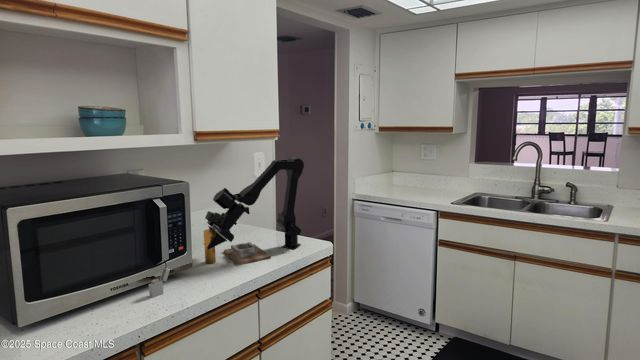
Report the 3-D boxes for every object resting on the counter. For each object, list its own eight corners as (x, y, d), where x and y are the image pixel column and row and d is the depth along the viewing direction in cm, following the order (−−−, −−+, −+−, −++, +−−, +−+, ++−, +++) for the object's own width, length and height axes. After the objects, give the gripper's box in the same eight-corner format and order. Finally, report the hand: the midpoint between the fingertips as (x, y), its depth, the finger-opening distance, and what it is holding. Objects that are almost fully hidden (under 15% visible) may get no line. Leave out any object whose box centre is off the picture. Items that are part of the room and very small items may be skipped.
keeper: (254, 246, 179) (254, 237, 178) (270, 258, 163) (270, 249, 163) (223, 252, 172) (223, 243, 171) (237, 265, 156) (237, 255, 156)
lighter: (152, 298, 129) (150, 274, 128) (149, 296, 130) (147, 273, 129) (171, 290, 135) (170, 267, 133) (168, 289, 136) (166, 266, 134)
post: (209, 259, 163) (207, 228, 161) (217, 261, 161) (216, 229, 159) (203, 263, 159) (201, 231, 157) (211, 264, 158) (209, 232, 156)
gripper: (210, 199, 166) (185, 229, 163) (224, 208, 150) (196, 241, 147) (230, 215, 172) (205, 244, 168) (245, 225, 156) (218, 258, 152)
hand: (206, 246), depth 158 cm, fingers open, 5 cm apart
